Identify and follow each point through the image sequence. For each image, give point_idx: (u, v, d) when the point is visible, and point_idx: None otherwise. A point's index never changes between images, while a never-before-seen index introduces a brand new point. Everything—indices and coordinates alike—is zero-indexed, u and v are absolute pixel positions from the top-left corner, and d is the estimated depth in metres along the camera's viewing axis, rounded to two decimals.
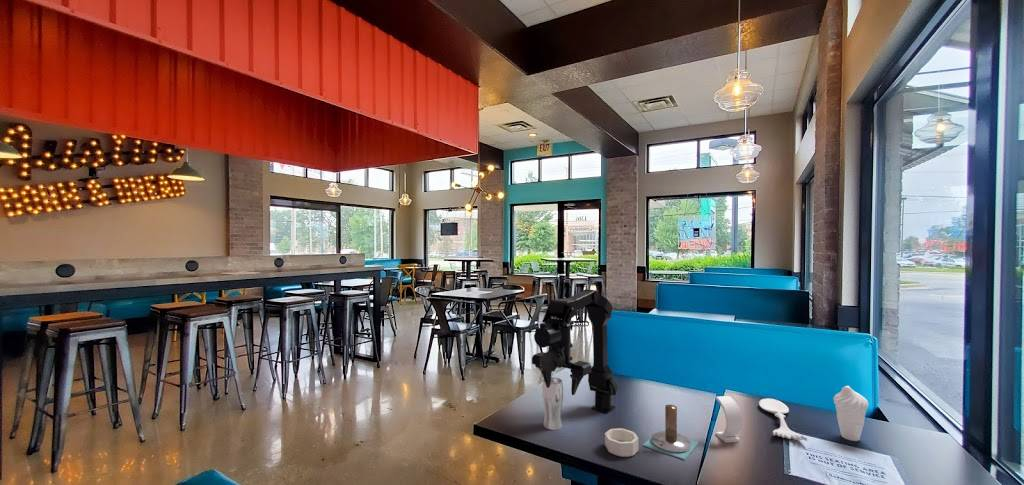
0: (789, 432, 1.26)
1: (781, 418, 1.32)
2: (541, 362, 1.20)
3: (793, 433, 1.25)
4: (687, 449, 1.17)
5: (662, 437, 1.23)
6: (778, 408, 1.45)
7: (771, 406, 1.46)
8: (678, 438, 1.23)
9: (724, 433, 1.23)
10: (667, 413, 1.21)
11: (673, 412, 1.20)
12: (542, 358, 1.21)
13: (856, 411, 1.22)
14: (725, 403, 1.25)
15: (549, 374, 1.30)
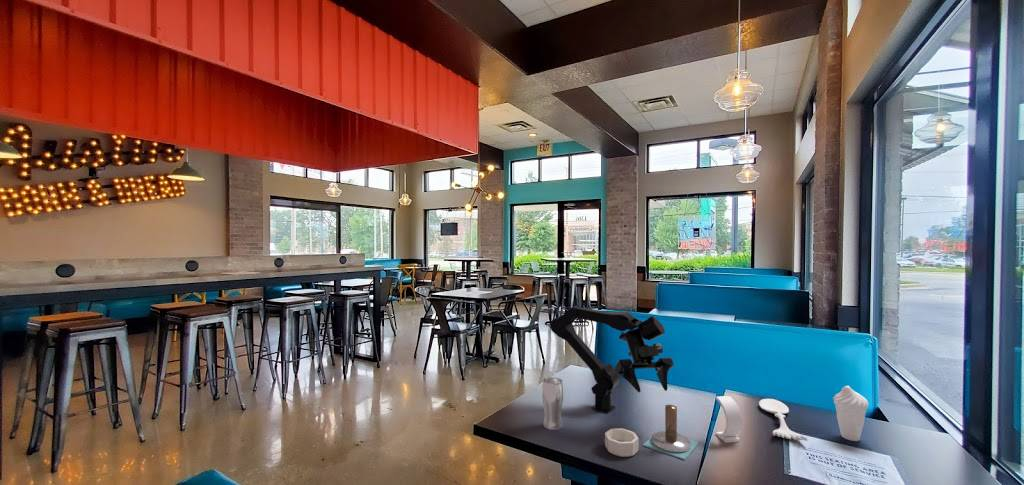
0: (789, 432, 1.26)
1: (781, 418, 1.32)
2: (647, 348, 1.30)
3: (793, 433, 1.25)
4: (687, 449, 1.17)
5: (662, 437, 1.23)
6: (778, 408, 1.45)
7: (771, 406, 1.46)
8: (678, 438, 1.23)
9: (724, 433, 1.23)
10: (667, 413, 1.21)
11: (673, 412, 1.20)
12: (645, 346, 1.31)
13: (856, 411, 1.22)
14: (725, 403, 1.25)
15: None
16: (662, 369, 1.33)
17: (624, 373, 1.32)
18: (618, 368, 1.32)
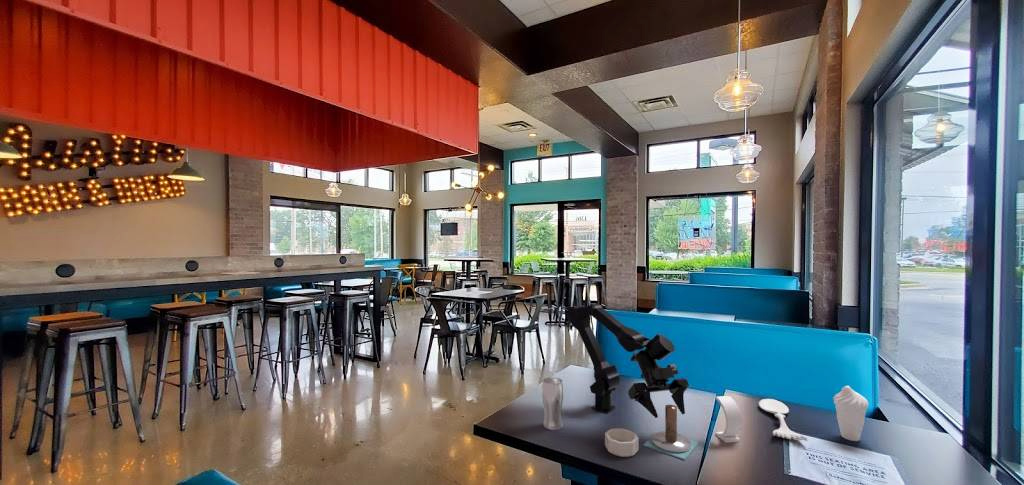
0: (789, 432, 1.26)
1: (781, 418, 1.32)
2: (663, 370, 1.23)
3: (793, 433, 1.25)
4: (687, 449, 1.17)
5: (662, 437, 1.23)
6: (778, 408, 1.44)
7: (771, 406, 1.46)
8: (678, 438, 1.23)
9: (724, 433, 1.23)
10: (667, 413, 1.21)
11: (673, 412, 1.20)
12: (660, 368, 1.24)
13: (856, 411, 1.22)
14: (725, 403, 1.25)
15: None
16: (678, 391, 1.26)
17: (639, 398, 1.25)
18: (632, 393, 1.25)
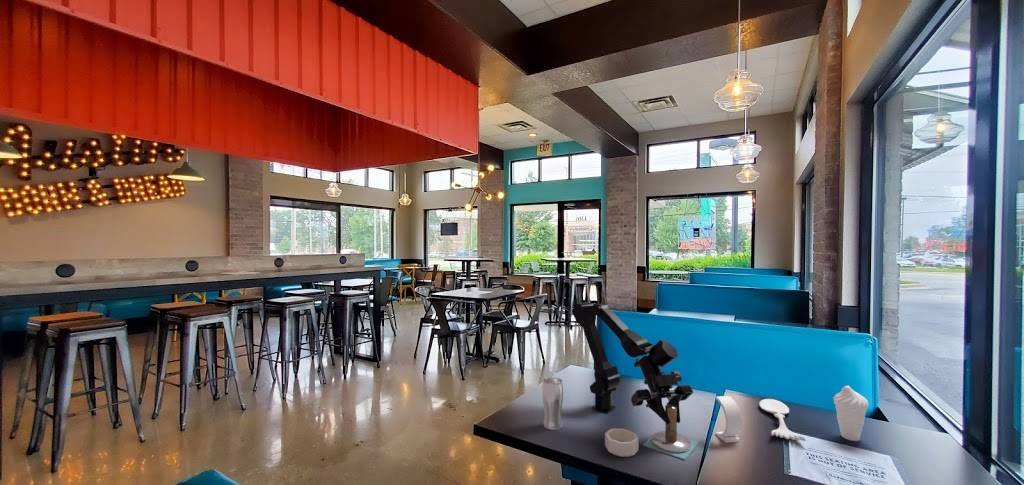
0: (788, 432, 1.26)
1: (780, 418, 1.32)
2: (666, 377, 1.21)
3: (792, 433, 1.25)
4: (687, 449, 1.17)
5: (662, 437, 1.23)
6: (778, 409, 1.44)
7: (771, 406, 1.46)
8: (678, 438, 1.23)
9: (724, 433, 1.23)
10: (667, 413, 1.21)
11: (673, 412, 1.20)
12: (663, 375, 1.22)
13: (856, 411, 1.22)
14: (725, 403, 1.25)
15: None
16: (673, 399, 1.24)
17: (650, 404, 1.24)
18: (635, 399, 1.23)
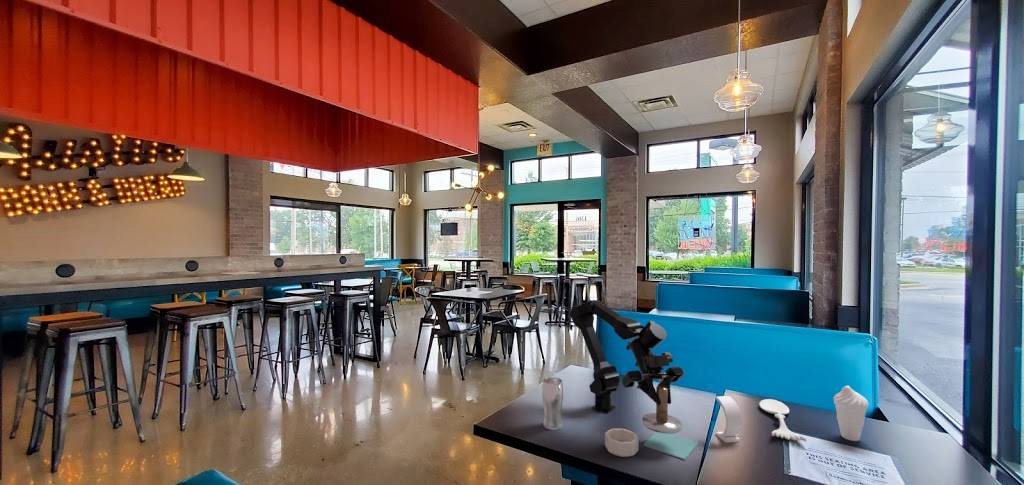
0: (788, 433, 1.26)
1: (781, 419, 1.32)
2: (657, 357, 1.21)
3: (792, 434, 1.25)
4: (678, 429, 1.17)
5: (653, 418, 1.23)
6: (778, 409, 1.44)
7: (771, 407, 1.46)
8: (669, 419, 1.22)
9: (724, 433, 1.23)
10: (658, 394, 1.20)
11: (664, 392, 1.20)
12: (655, 356, 1.22)
13: (856, 411, 1.22)
14: (725, 403, 1.25)
15: None
16: (664, 380, 1.24)
17: (641, 385, 1.23)
18: (626, 381, 1.23)
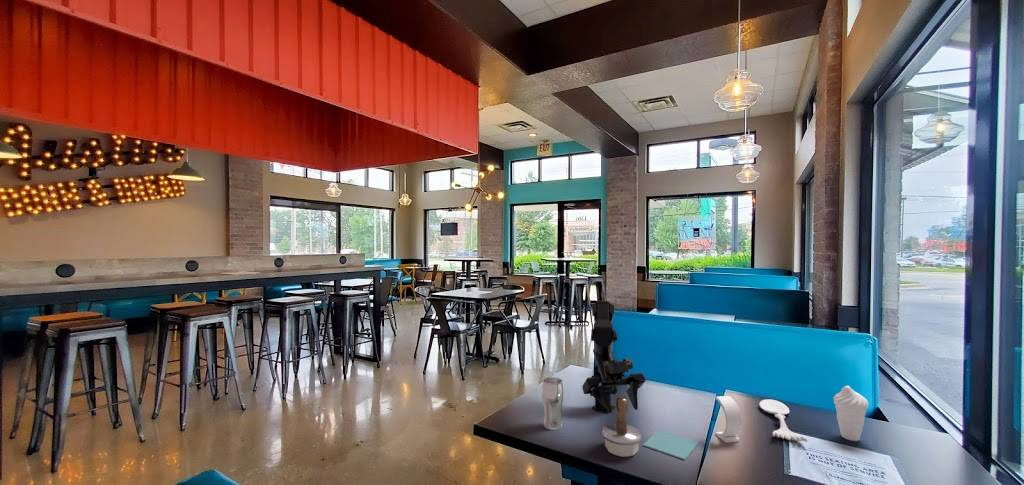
0: (789, 433, 1.26)
1: (781, 419, 1.31)
2: (616, 364, 1.19)
3: (793, 434, 1.25)
4: (636, 441, 1.15)
5: (613, 429, 1.21)
6: (778, 409, 1.44)
7: (771, 407, 1.46)
8: (629, 430, 1.20)
9: (724, 433, 1.23)
10: (617, 404, 1.18)
11: (623, 403, 1.18)
12: (614, 362, 1.20)
13: (856, 411, 1.22)
14: (725, 403, 1.25)
15: None
16: (632, 386, 1.22)
17: (594, 392, 1.21)
18: (586, 387, 1.21)
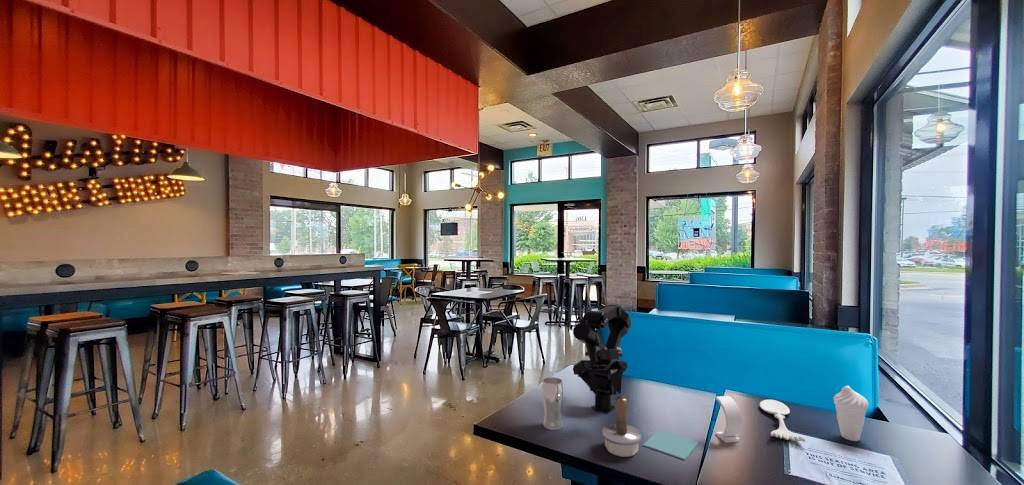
0: (788, 433, 1.26)
1: (780, 419, 1.31)
2: (610, 351, 1.28)
3: (792, 434, 1.25)
4: (636, 441, 1.15)
5: (613, 429, 1.21)
6: (779, 409, 1.44)
7: (772, 407, 1.45)
8: (629, 430, 1.20)
9: (724, 433, 1.23)
10: (617, 404, 1.18)
11: (623, 403, 1.18)
12: None
13: (856, 411, 1.22)
14: (725, 403, 1.25)
15: None
16: (617, 372, 1.33)
17: (583, 374, 1.29)
18: (578, 369, 1.29)
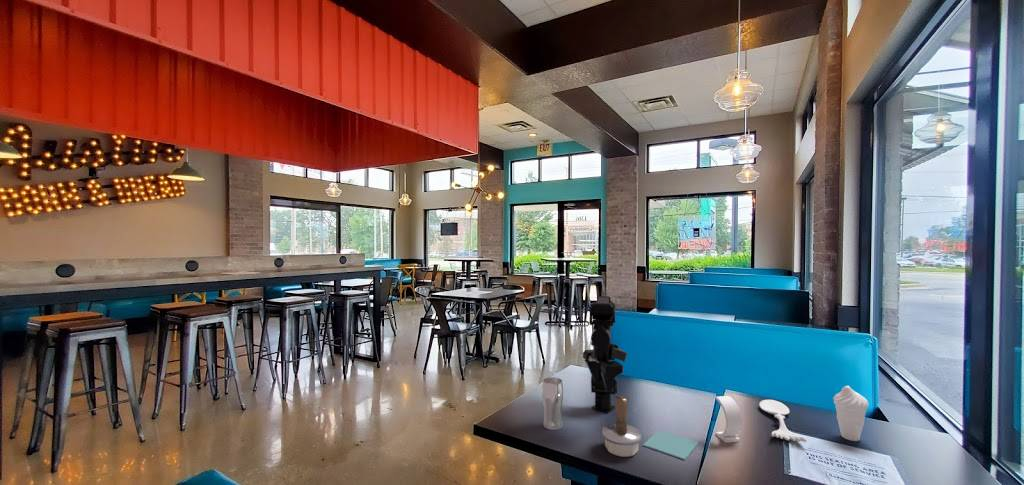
0: (788, 433, 1.26)
1: (781, 419, 1.31)
2: None
3: (792, 434, 1.25)
4: (636, 441, 1.15)
5: (613, 429, 1.21)
6: (778, 409, 1.44)
7: (771, 407, 1.45)
8: (629, 430, 1.20)
9: (724, 433, 1.23)
10: (617, 404, 1.18)
11: (623, 403, 1.18)
12: (624, 351, 1.37)
13: (856, 411, 1.22)
14: (725, 403, 1.25)
15: None
16: (599, 363, 1.42)
17: None
18: (616, 371, 1.28)
